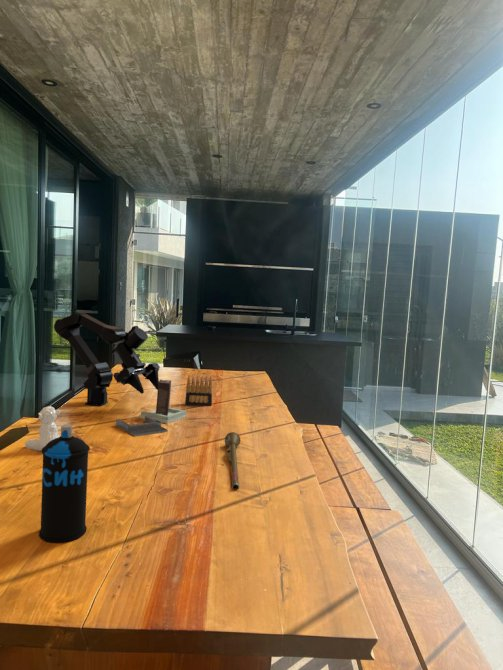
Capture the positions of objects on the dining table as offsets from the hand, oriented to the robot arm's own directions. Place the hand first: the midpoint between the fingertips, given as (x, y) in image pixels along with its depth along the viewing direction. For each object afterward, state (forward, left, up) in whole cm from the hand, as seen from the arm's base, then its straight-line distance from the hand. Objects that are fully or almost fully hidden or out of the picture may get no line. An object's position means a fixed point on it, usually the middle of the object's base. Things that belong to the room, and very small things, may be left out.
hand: (150, 391), depth 176 cm
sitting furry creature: (-11, -45, -9) cm, 48 cm away
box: (+5, -2, -8) cm, 10 cm away
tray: (+6, -1, -9) cm, 10 cm away
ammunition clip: (+12, +23, -9) cm, 27 cm away
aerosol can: (+18, -85, -9) cm, 88 cm away
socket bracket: (+4, -18, -9) cm, 20 cm away
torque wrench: (+40, -39, -9) cm, 56 cm away
